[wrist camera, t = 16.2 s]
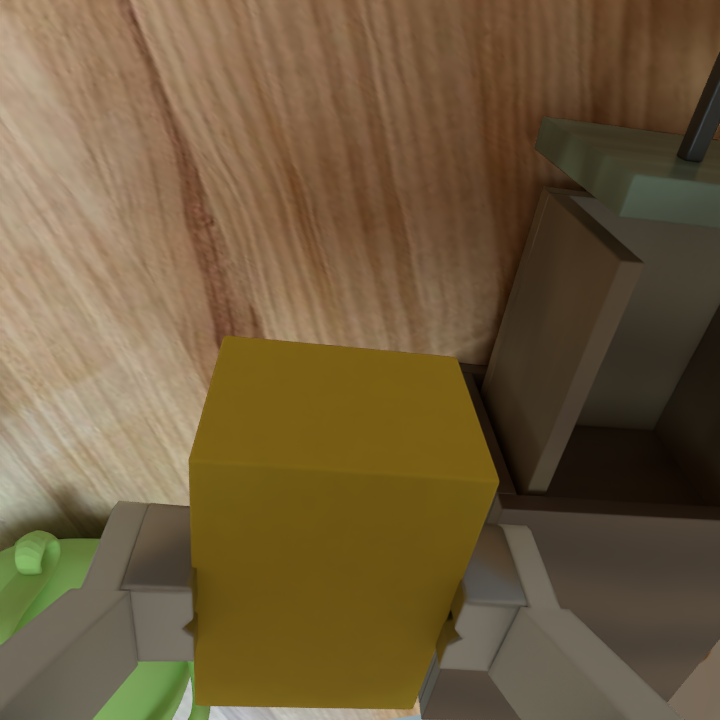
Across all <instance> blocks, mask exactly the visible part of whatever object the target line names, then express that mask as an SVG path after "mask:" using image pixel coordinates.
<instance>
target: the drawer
mask: <svg viewBox="0 0 720 720" xmlns="http://www.w3.org/2000/svg"><path fill="white" fill-rule="evenodd" d="M719 123H720V52H719V54H718V57H717V59H716V62H715V64H714V66H713V69H712V71H711V73H710V76H709V78H708V81H707V83H706V85H705V88H704V90H703V92H702V95H701V97H700V100H699V102H698V104H697V107H696V109H695V112H694V114H693V116H692V119H691V121H690V123H689V126H688V128H687V131H686V133H685V135H684V136H683V135H676V134H669V133H661V132H654V131H647V130H639V129H632V128H625V127H618V126H610V125H603V124H596V123H588V122H581V121H574V120H567V119H559V118H552V117H543V119H542V122H541V126H540V129H539V133H538V136H537V140H536V143H535V147H534V148H535V149H536V150H537V151H538V152H540V153H541V154H542V155H543V156H544V157H546V158H547V159H548V160H549V161H551V162H552V163H553V164H554V165H556V166H557V167H558V168H559V169H561V170H562V171H563V172H564V173H566V174H567V175H568V176H569V177H571V178H572V179H573V180H574V181H575V182H577V183H578V184H579V185H580V186H582V187H583V188H584V189H585V190H587V191H588V192H584V191H575V190H567V189H559V188H551V187H543V188H542V192H541V195H540V198H539V201H538V205H537V208H536V211H535V214H534V218H533V221H532V224H531V228H530V231H529V234H528V237H527V241H526V244H525V247H524V250H523V254H522V257H521V260H520V264H519V267H518V270H517V273H516V277H515V280H514V283H513V286H512V290H511V293H510V296H509V299H508V303H507V306H506V309H505V313H504V316H503V319H502V322H501V326H500V329H499V332H498V335H497V339H496V342H495V345H494V348H493V352H492V355H491V358H490V362H489V365H488V368H487V371H486V375H485V378H484V381H483V384H482V388H481V391H480V397H481V400H482V402H483V405H484V408H485V410H486V413H487V416H488V418H489V421H490V424H491V426H492V429H493V432H494V435H495V437H496V440H497V443H498V445H499V448H500V451H501V453H502V456H503V459H504V461H505V464H506V467H507V469H508V472H509V475H510V477H511V480H512V483H513V485H514V488H515V491H516V494H517V495H525V496H542V497H560V498H577V499H594V500H612V501H629V502H646V503H664V504H681V505H698V506H716V507H720V140H712V138H713V136H714V134H715V131H716V129H717V127H718V125H719Z"/></svg>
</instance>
